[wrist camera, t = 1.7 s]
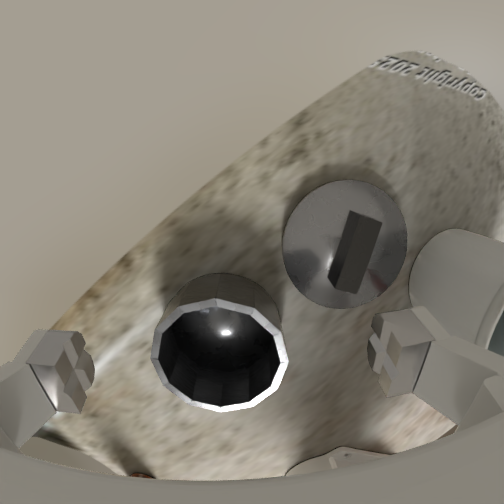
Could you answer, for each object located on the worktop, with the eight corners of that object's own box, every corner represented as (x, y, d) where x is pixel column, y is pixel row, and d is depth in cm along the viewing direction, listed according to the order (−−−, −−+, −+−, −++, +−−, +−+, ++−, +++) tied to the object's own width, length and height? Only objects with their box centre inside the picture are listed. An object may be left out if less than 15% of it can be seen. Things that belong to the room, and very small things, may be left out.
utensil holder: (497, 235, 37) (583, 272, 20) (466, 328, 41) (533, 390, 24) (423, 212, 36) (519, 246, 19) (391, 320, 40) (455, 400, 23)
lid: (415, 202, 36) (438, 209, 31) (375, 312, 40) (391, 332, 34) (302, 161, 35) (312, 161, 30) (265, 285, 39) (267, 305, 33)
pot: (294, 289, 39) (305, 320, 31) (261, 380, 42) (263, 420, 34) (179, 259, 37) (163, 283, 30) (160, 355, 41) (145, 392, 33)
